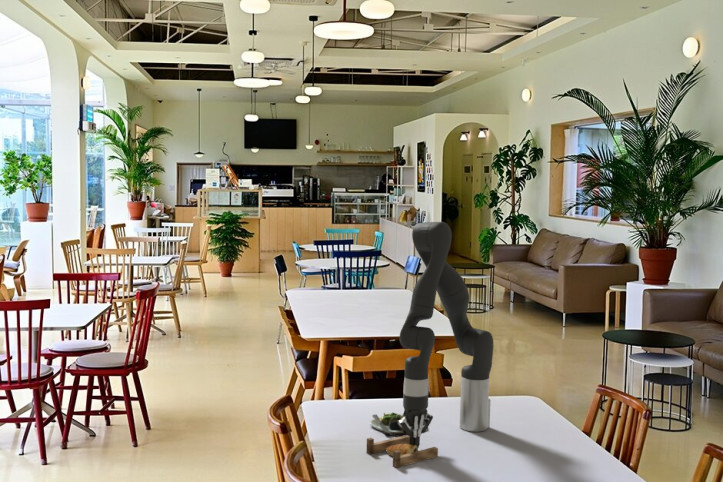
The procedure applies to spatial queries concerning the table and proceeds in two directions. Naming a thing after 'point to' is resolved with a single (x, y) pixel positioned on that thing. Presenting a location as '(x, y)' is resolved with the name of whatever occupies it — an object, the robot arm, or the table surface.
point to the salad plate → (388, 424)
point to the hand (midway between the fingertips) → (414, 448)
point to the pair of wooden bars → (398, 459)
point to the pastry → (401, 449)
